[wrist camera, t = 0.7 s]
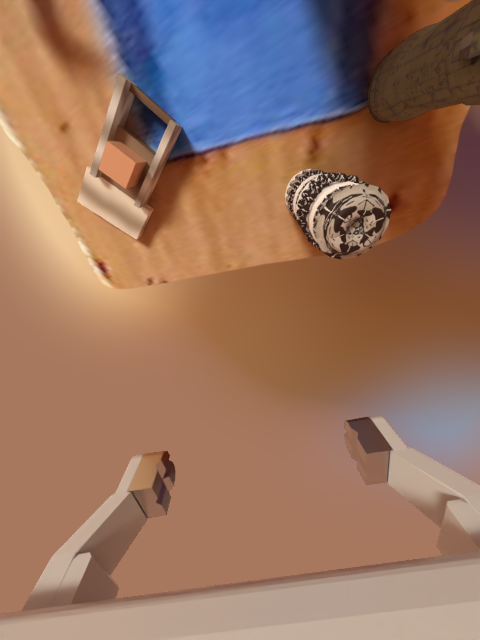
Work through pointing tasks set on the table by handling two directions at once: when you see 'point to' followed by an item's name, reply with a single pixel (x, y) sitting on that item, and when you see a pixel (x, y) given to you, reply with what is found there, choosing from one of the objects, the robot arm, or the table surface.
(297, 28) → the table surface
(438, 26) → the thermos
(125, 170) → the terracotta block
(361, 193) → the decorative candle
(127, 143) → the trap channel
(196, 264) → the table surface
